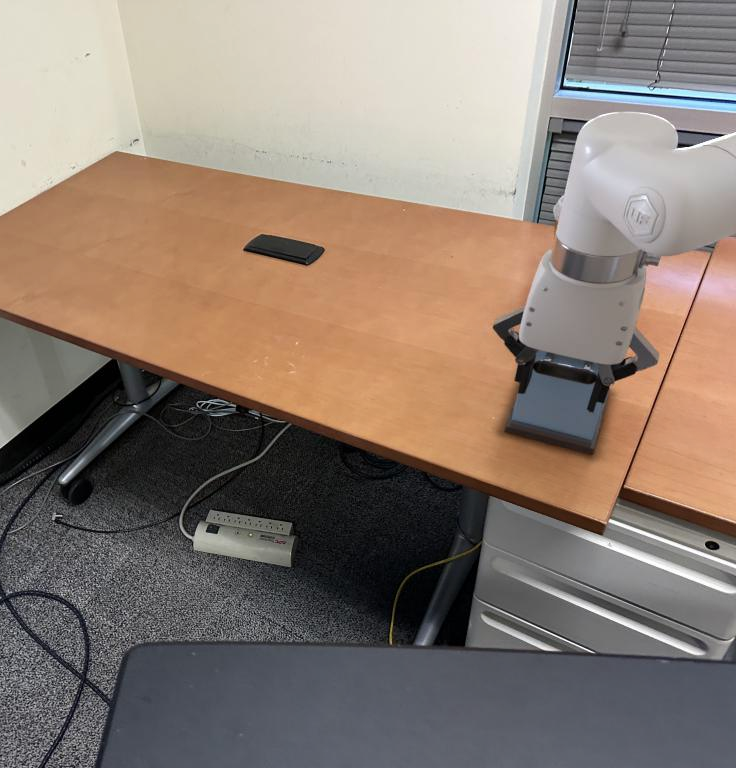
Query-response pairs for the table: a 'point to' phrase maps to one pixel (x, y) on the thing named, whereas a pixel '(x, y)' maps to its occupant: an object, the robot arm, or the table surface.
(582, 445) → the dark rectangular box base
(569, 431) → the handled blue panel
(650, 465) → the table surface
